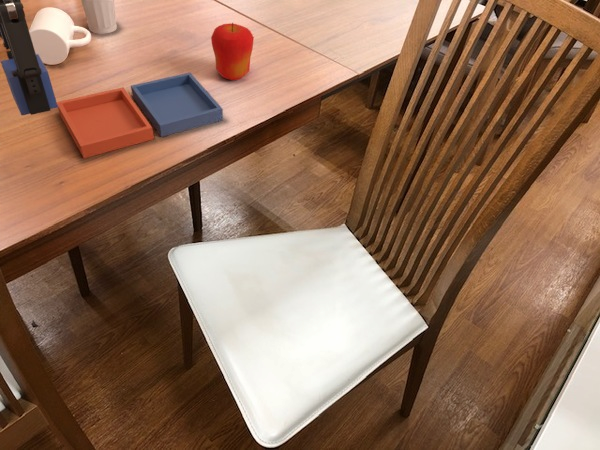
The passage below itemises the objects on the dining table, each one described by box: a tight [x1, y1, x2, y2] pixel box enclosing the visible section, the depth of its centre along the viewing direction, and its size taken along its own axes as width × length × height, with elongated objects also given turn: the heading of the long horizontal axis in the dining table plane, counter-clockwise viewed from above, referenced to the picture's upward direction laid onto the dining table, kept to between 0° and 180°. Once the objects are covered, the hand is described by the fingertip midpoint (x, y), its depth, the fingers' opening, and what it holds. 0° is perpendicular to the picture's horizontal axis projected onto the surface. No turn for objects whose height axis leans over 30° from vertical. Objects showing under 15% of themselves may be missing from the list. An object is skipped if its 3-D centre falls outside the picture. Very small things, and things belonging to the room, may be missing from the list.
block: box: [0, 54, 58, 116], centre depth 72 cm, size 5×5×6 cm
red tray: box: [56, 87, 155, 159], centre depth 93 cm, size 15×13×3 cm
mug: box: [28, 6, 92, 66], centre depth 107 cm, size 12×10×8 cm
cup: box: [80, 0, 118, 35], centre depth 115 cm, size 8×8×12 cm
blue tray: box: [130, 72, 224, 138], centre depth 99 cm, size 15×13×3 cm
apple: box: [210, 22, 255, 81], centre depth 106 cm, size 9×8×12 cm
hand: (34, 100), depth 74 cm, fingers closed on block, 5 cm apart
